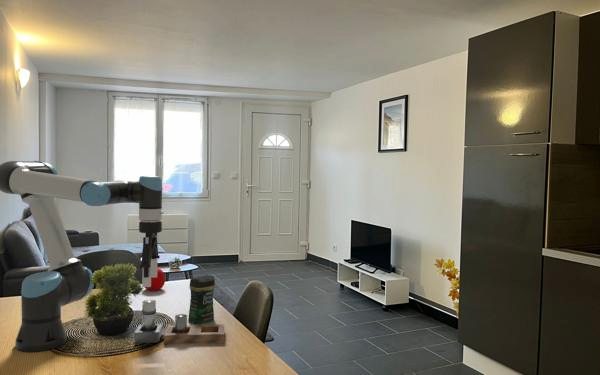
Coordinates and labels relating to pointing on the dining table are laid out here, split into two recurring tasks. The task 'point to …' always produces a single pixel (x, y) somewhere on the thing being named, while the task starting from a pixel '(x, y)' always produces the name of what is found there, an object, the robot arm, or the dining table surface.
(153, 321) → the grey metal cylinder
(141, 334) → the socket block
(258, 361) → the dining table surface
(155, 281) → the tomato
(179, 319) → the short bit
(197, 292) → the coffee jar
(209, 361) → the dining table surface
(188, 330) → the rack
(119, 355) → the dining table surface
